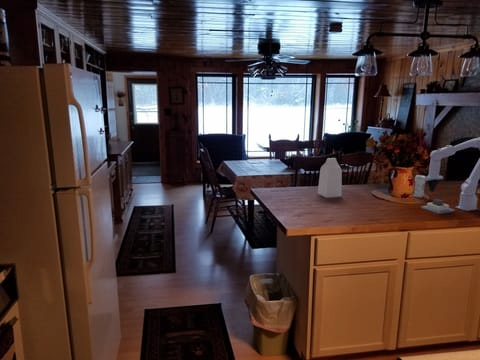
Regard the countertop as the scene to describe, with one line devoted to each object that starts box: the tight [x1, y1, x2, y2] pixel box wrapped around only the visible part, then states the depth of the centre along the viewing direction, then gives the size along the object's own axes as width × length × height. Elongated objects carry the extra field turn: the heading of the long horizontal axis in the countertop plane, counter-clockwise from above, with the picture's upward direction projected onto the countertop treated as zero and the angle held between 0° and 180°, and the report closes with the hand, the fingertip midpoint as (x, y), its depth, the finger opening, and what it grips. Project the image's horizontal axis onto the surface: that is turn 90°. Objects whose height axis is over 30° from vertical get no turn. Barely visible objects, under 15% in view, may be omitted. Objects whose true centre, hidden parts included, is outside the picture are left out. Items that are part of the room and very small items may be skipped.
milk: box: [317, 157, 343, 199], centre depth 254 cm, size 12×12×26 cm
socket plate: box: [420, 201, 456, 215], centre depth 223 cm, size 13×13×4 cm
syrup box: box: [412, 174, 427, 199], centre depth 252 cm, size 6×6×14 cm
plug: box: [432, 198, 445, 206], centre depth 223 cm, size 4×4×5 cm
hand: (431, 191), depth 230 cm, fingers closed
